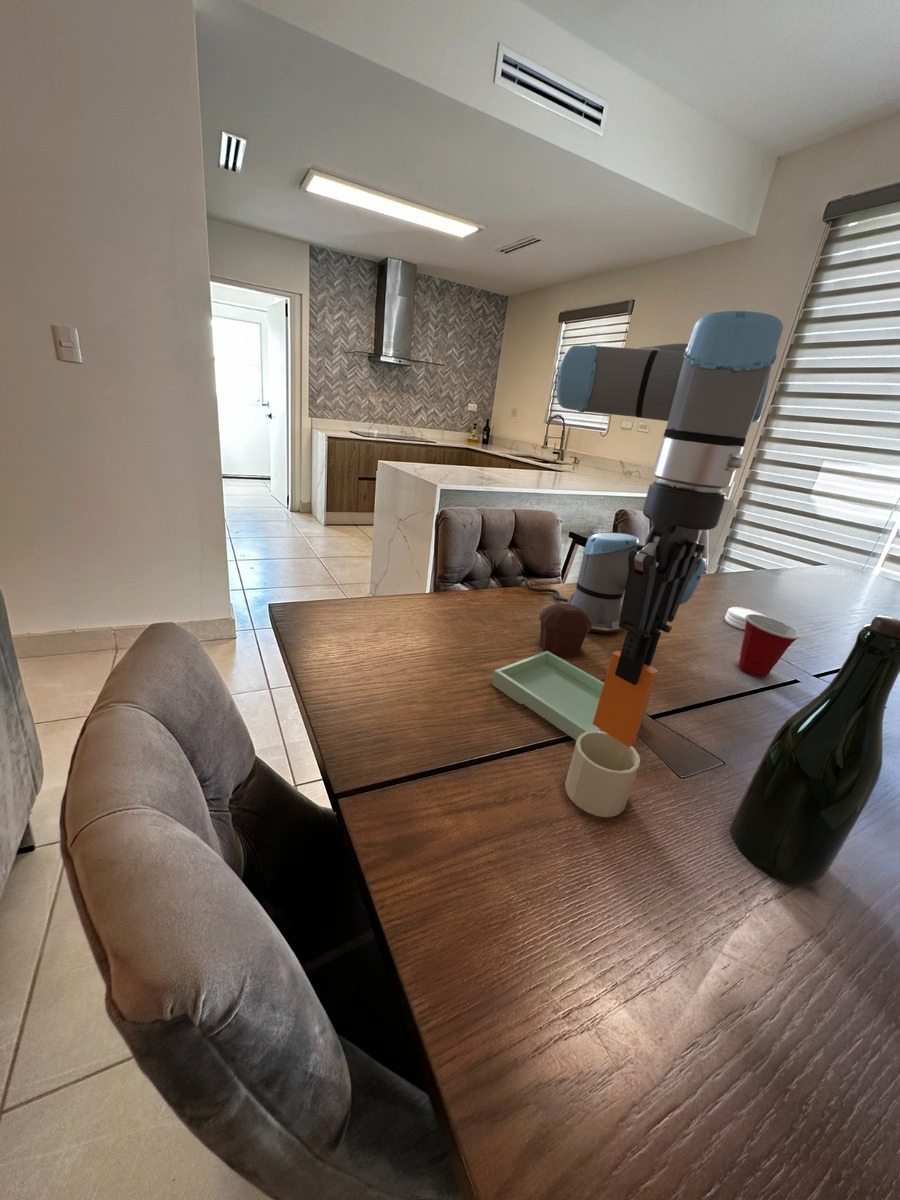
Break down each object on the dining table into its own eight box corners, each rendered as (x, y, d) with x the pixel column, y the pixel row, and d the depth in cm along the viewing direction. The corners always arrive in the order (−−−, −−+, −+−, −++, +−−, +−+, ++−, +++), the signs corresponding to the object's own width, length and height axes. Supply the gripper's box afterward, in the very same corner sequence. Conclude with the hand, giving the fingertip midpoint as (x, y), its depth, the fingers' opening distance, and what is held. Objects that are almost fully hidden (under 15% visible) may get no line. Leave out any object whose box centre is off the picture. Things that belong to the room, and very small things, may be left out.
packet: (592, 724, 63) (612, 653, 59) (598, 720, 64) (618, 650, 60) (628, 747, 59) (652, 673, 55) (634, 743, 60) (658, 670, 56)
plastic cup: (790, 688, 101) (813, 639, 97) (737, 677, 103) (757, 629, 98) (769, 664, 111) (789, 618, 106) (720, 654, 113) (738, 609, 108)
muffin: (589, 645, 109) (599, 606, 106) (580, 665, 100) (591, 623, 96) (540, 630, 114) (548, 592, 110) (527, 649, 104) (535, 608, 100)
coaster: (764, 625, 134) (768, 613, 133) (764, 636, 126) (768, 624, 125) (725, 614, 139) (729, 603, 137) (722, 624, 131) (727, 613, 129)
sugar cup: (552, 789, 66) (564, 744, 63) (586, 766, 71) (599, 723, 68) (602, 830, 60) (618, 782, 57) (635, 802, 65) (651, 757, 62)
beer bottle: (841, 879, 58) (992, 642, 45) (782, 901, 54) (928, 649, 41) (764, 812, 67) (871, 598, 54) (709, 826, 63) (810, 601, 50)
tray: (491, 684, 89) (494, 670, 88) (544, 663, 99) (547, 650, 98) (586, 751, 74) (591, 734, 73) (637, 719, 84) (642, 704, 83)
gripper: (694, 495, 42) (626, 711, 51) (752, 490, 51) (686, 675, 60) (620, 479, 47) (570, 678, 56) (685, 477, 56) (633, 649, 65)
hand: (630, 676), depth 58 cm, fingers closed on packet
